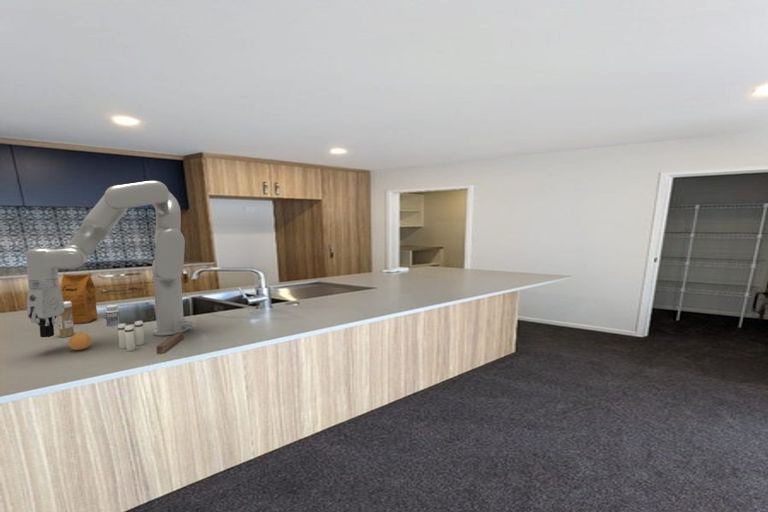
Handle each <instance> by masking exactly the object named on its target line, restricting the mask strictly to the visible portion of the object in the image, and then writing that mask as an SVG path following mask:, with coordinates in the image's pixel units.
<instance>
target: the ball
mask: <svg viewBox="0 0 768 512" xmlns="http://www.w3.org/2000/svg"><path fill="white" fill-rule="evenodd" d="M91 343H92V337H91V336H90V334H88V333H87V332H78V333H74V335H72V336H70V338H69V340H68V345H69V347H70V348H71V349H72V350H75V351H82V350H85V349H87V348H88V347H89V346H90V345H91Z"/></svg>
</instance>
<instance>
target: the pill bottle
mask: <svg viewBox="0 0 768 512" xmlns="http://www.w3.org/2000/svg"><path fill="white" fill-rule="evenodd" d="M118 308H119V306H118V304H111V305H107V306H106V308H105V309H106V311H105V317H106V325H108V326H107V327H114V326H113V325H115V326H118V325H117V324H121V317H120V315H121V314H120V309H118Z"/></svg>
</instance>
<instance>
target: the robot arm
mask: <svg viewBox="0 0 768 512" xmlns="http://www.w3.org/2000/svg"><path fill="white" fill-rule="evenodd" d="M150 205H151V206H153V207H154V209H155V232H154V239H153V240H154V243H155V257H154V260H153V262H152V265H151V270H152V271H151V273H152V279H153V288H154V304H155V305H154V306H155V317H156V328H154V329H153V330H152V334H153V335H154V336H158V337H159V336H161V337H162V336H173V335H174V334H176V333H177V332H183V333H184V332H186V331H188V330H189V327H191V328H193V327H194V326H195V323H194V320H187V318H186V317H184V306H183V305H184V304H183V303H184V302H183V287H182V286H183V285H182V276H181V275H182V273H183V272H184V263H185V244H186V241H185V237H184V235H183V233H182V232H181V225H182V224H181V223H182V221H181V220H182V219H181V218H182V215H181V206H180V204H179V202H178V199H177V198H176V197H175V196H174V195H173V194H172V193H171V192H170V191H169V189H168V187H167V185H166V184H164V183H163V182H161V181H158V180H145V181H140V182H134V183H132V182H131V183H124V184H116V185H112V186H109V187H108V188H107V189H106V190H105V192H104V194H103V195H102V197H101V198H100V199H99V200H98V202H97V203H96V204H95V205H94V207H93V208H92V209H91V210H90V212H88V214H87V215H86V216H85V217H84V219H83V221H82V223H81V225H80V227H79V229H78V231H77V232H76V233H75V235H74V236H73V237H72V238H71V239H70V241H69V242H68V243H67V244H66V246H64V248H56V249H55V248H49V247H43V248H41V247H38V248H36V247H35V248H29V249H28V250H27V251H26V252H25V253H26V254H25V257H26V266H27V267H26V268H27V270H26V271H27V282H28V285H27V286H28V290H27V291H28V292H27V296H26V297H27V299H26V309H27V311H26V312H27V313H26V314H27V318H28V319H30V323H31V324H37V327H39V336H40V338H50V337H54V336H55V328H54V327H55V323H56V319H58V316H60V314H62V313H63V312H64V301H63V295H62V291H61V285H59V272H58V270H59V269H60V270H61V269H63V270H74V269H75V270H76V269H78V268H80V267H81V266H82V265H83V264H84V263H85V262H86V260H87V259H88V258H89V257H90V256H91V254H92V253H93V252H94V250H95V249H96V247H98V245H99V244H100V242H102V241H103V239H104V238H106V237H107V236H108V235H109V234H110V232H111V231H112V230H113V229H114V228H115V226H116V225H117V223H118V222H119V221H120V220H121V219H122V217H124V215H125V214H126V212H127V211H128V210H129V209H131V208H132V209H133V208H139V207H143V206H144V207H146V206H150Z"/></svg>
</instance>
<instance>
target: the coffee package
mask: <svg viewBox="0 0 768 512" xmlns="http://www.w3.org/2000/svg"><path fill="white" fill-rule="evenodd" d="M60 288H61V291H62V295H63V301H64V302H71V303H72V306H71V310H72V317H73V325H80V324H87V323H91V321H93V320H95V319H97V318H98V317H99V316H98V309H97V293H96V292H97V291H96V287H95V285H94V282H93V280H92V274H91V273H89V272H88V273H87V272H86V273H81V274H78V273H77V274H70V273H64V274H63V275H62V279H61V285H60Z"/></svg>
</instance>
